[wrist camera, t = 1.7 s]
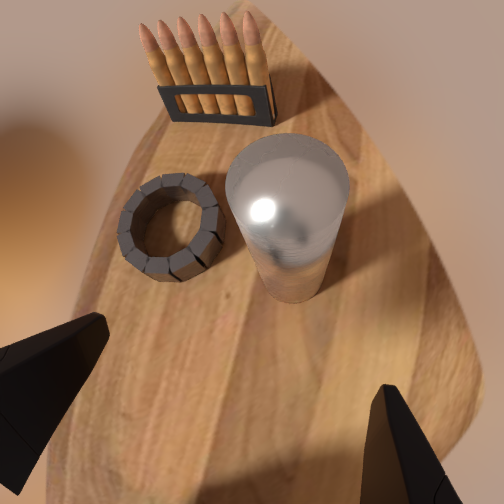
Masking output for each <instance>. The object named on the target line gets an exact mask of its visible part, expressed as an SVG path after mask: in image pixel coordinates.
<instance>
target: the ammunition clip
mask: <svg viewBox="0 0 504 504" xmlns="http://www.w3.org/2000/svg"><path fill="white" fill-rule="evenodd" d="M177 27H178V34H179V38H180V42H181V44H182V49H183V52H184V55H183V53H182V52H181V50H180V49H179V46H178V44H177V43H176V40H175V38H174V36H173V34H172V32H171V31H170V29H169V28H168V26H167V25H166V24H165V23H164V22H163V21H162V20H159V21H158V34H159V39H160V42H161V45H162V47H163V51H164V53H165V55H164V54H163V52H162V51H161V49H160V47H159V45H158V43H157V41H156V39H155V37H154V36H153V34H152V33H151V31H150V30H149V29H148V28H147V27H146V26H145V25H144V24H142V23H141V24H140V25H139V33H140V38H141V41H142V44H143V47H144V49H145V52H146V54H147V57H148V60H149V65H150V67H151V69H152V71H153V74H154V75H155V77H156V80H157V82H158V84H159V85H158V87H157V89H158V91H159V93H160V95H161V98H162V100H163V102H164V104H165V106H166V109H167V111H168V113H169V115H170V117H171V120H172V121H173V122H209V123H228V124H243V125H256V126H267V127H272V126H274V124H275V120H276V117H277V108H276V103H275V98H274V93H273V88H272V83H271V78H270V74H269V72H268V65H267V59H266V54H265V52H264V50H263V46H262V42H261V39H260V34H259V30H258V27H257V24H256V22H255V20H254V18H253V16H252V15H251V13H250V12H249V11H246V12H245V15H244V19H243V35H244V41H245V50H246V53H245V56H244V53H243V51H242V49H241V47H240V43H239V40H238V37H237V33H236V30H235V27H234V25H233V23H232V21H231V19H230V18H229V16H228V15H227V14H226V13H225V12H222V14H221V18H220V32H221V38H222V42H223V49H224V55H223V53H222V51H221V49H220V48H219V45H218V42H217V40H216V36H215V33H214V31H213V29H212V27H211V25H210V23H209V22H208V20H207V19H206V17H205V16H204V15H203V14H200V15H199V18H198V31H199V36H200V40H201V43H202V48H203V53H204V55H203V53H202V52H201V50H200V48H199V46H198V44H197V42H196V39H195V37H194V34H193V32H192V30H191V28H190V26H189V25H188V23H187V22H186V21H185V20H184V19H183V18H182V17H179V18H178V21H177Z"/></svg>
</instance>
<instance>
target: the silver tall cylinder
mask: <svg viewBox="0 0 504 504" xmlns="http://www.w3.org/2000/svg"><path fill="white" fill-rule="evenodd" d="M225 191H226V197H227V201H228V204H229V206H230V208H231V210H232V213H233V215H234V217H235V219H236V222H237V224H238V226H239V228H240V231H241V233H242V235H243V237H244V240H245V242H246V244H247V246H248V249H249V251H250V253H251V255H252V258H253V260H254V262H255V264H256V267H257V269H258V271H259V273H260V276H261V278H262V280H263V282H264V285H265V287H266V289H267V290H268V292H269V293H270V294H271V295H272V296H273V297H274V298H276V299H277V300H279V301H281V302H284V303H289V304H297V303H301V302H304V301H307V300H309V299H310V298H312V297H313V296H314V295H315V294H316V293H317V291H318V290H319V288H320V286H321V284H322V281H323V278H324V275H325V272H326V269H327V266H328V263H329V260H330V256H331V253H332V250H333V247H334V244H335V240H336V237H337V234H338V230H339V227H340V223H341V220H342V217H343V213H344V210H345V206H346V202H347V199H348V195H349V177H348V173H347V170H346V167H345V165H344V163H343V161H342V160H341V159H340V157H339V156H338V155H337V154H336V153H335V151H334V150H332V149H331V148H330V147H329V146H327V145H326V144H324V143H323V142H321V141H319V140H317V139H315V138H312V137H309V136H305V135H301V134H294V133H283V134H275V135H270V136H267V137H264V138H261V139H259V140H257V141H255V142H253V143H251V144H250V145H248V146H247V147H246V148H244V149H243V150H242V151H241V152H240V153H239V154H238V155H237V156H236V158H235V159H234V161H233V162H232V164H231V166H230V168H229V170H228V173H227V176H226V182H225Z"/></svg>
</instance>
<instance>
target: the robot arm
mask: <svg viewBox="0 0 504 504" xmlns="http://www.w3.org/2000/svg"><path fill="white" fill-rule="evenodd" d="M109 336H110V333H109V329H108V325H107V321H106V318H105V316H104V315H102V314H99V313H97V312H93V313H90V314H87V315H85V316H82V317H80V318H77V319H75V320H72V321H69V322H67V323H64V324H62V325H59V326H57V327H54V328H52V329H49V330H46V331H44V332H41V333H39V334H36V335H34V336H31V337H28V338H26V339H23V340H21V341H18V342H15V343H13V344H11V345H8V346H5V347H2V348H0V483H1V484H2V485H3V486H5V487H6V488H8V489H9V490H10V491H12V492H13V493H15V494H16V495H17V496H18V495H19V494H20V492H21V491H22V489H23V487H24V485H25V483H26V481H27V479H28V477H29V475H30V474H31V472H32V470H33V468H34V466H35V465H36V463H37V461H38V459H39V457H40V455H41V454H42V452H43V450H44V449H45V447H46V445H47V443H48V442H49V440H50V438H51V436H52V435H53V433H54V431H55V430H56V428H57V426H58V425H59V423H60V421H61V420H62V418H63V417H64V415H65V413H66V412H67V410H68V408H69V407H70V405H71V404H72V402H73V400H74V399H75V397H76V396H77V394H78V393H79V391H80V389H81V388H82V386H83V385H84V383H85V382H86V380H87V379H88V377H89V375H90V374H91V372H92V370H93V368H94V367H95V365H96V363H97V361H98V359H99V357H100V355H101V353H102V351H103V349H104V347H105V345H106V344H107V342H108V340H109ZM360 504H463V503H462V501H461V500H460V498H459V497H458V495H457V493H456V491H455V490H454V488H453V486H452V484H451V482H450V480H449V479H448V477H447V475H445V471H444V469H443V468H442V466H441V464H440V462H439V460H438V458H437V456H436V455H435V453H434V451H433V449H432V447H431V446H430V444H429V442H428V440H427V438H426V437H425V435H424V433H423V431H422V430H421V428H420V426H419V424H418V423H417V421H416V419H415V417H414V416H413V414H412V412H411V411H410V409H409V407H408V405H407V404H406V402H405V400H404V399H403V397H402V395H401V394H400V392H399V390H398V389H397V387H396V386H395V385H388V384H383V385H381V387H380V388H379V390H378V392H377V394H376V396H375V397H374V399H373V401H372V404H371V409H370V416H369V423H368V430H367V436H366V442H365V448H364V458H363V473H362V485H361V496H360Z"/></svg>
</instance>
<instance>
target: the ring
mask: <svg viewBox="0 0 504 504" xmlns="http://www.w3.org/2000/svg"><path fill="white" fill-rule="evenodd" d="M140 190H141V191H139V190H136V191H135V192H134V194H133V195H132V196H131V198H130V199H129V200H128V202H127V203H126V205H125V206H124V207H123V208H124V209H125V210H126V211H121V216H120V220H119V224H118V229H117V233H118V234H119V235H118V236H117V239H118V242H119V245H120V249H121V252H122V255H123V257H125V260H127V261H128V262H129V263H131V264H132V265H133V266H134V267H136V268H137V269H138V270H140V271H141V272H142V273H144V274H146V275H147V276H149V277H151V278H152V279H154V280H157V281H159V282H181V280H183V281H186V280H188V279H190V278H192V277H194V276H196V275H198V274H199V273H201V272H203V271H205V270H206V269H205V267H204V265H206V266H207V267H209V266H210V265H211V263H212V262H213V260H214V259H215V258H216V256H217V255H218V253H219V252H220V250H221V249H222V245H221V244H224V237H225V227H226V220H225V216H224V214H223V212H222V210H221V208H220V206H219V204H218V202H217V200H216V198H215V197H214V195H213V193H212V191H211V189H210V187H209V185H207V184H206V182H204V181H202V180H200V179H198V178H196V177H194V176H192V175H190V174H188V173H187V174H186V175H185V173H174V174H163V175H162V178H161V177H160V176H158V177H156V178H154V179H152V180H151V181H149V182H147V183H146V184H144V185H142V186H140ZM174 201H191V202H193V203H195V204H197V205H198V206H200V207H202V216H201V224H200V229H199V231H198V232H197V234H196V235H195V236H194V238H193V239H192V241H191V242H190V244H189V245H188V246H187V247H186V248H184V249H182V250H181V251H179V252H177V253H175V254H173V255H171V256H170V257H149V255H148V253H147V250H146V247H145V244H144V237H145V231H146V226H147V224H148V222H149V221H150V220H151V218H152V217H153V215H154V214H155V213H156V211H157V210H159V209H160V208H162V207H164V206H166V205H168V204H169V203H171V202H174ZM203 264H204V265H203Z"/></svg>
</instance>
